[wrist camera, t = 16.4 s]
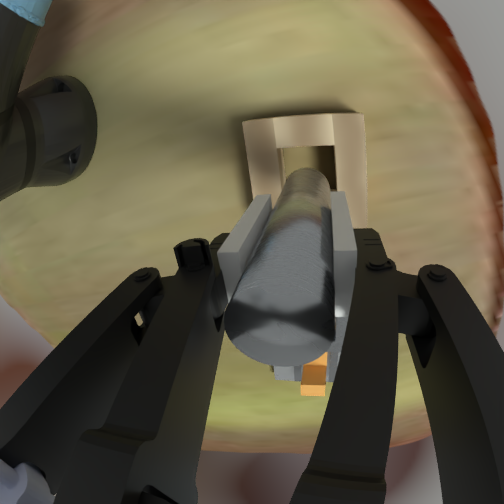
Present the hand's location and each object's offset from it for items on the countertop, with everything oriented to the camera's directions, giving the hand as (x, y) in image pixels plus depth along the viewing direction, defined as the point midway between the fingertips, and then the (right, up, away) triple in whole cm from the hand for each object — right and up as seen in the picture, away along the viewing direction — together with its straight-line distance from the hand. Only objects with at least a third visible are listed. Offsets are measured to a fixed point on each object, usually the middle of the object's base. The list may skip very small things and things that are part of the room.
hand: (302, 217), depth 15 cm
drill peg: (+1, +2, +5) cm, 5 cm away
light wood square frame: (+3, +6, +11) cm, 13 cm away
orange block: (+6, -14, +20) cm, 25 cm away
